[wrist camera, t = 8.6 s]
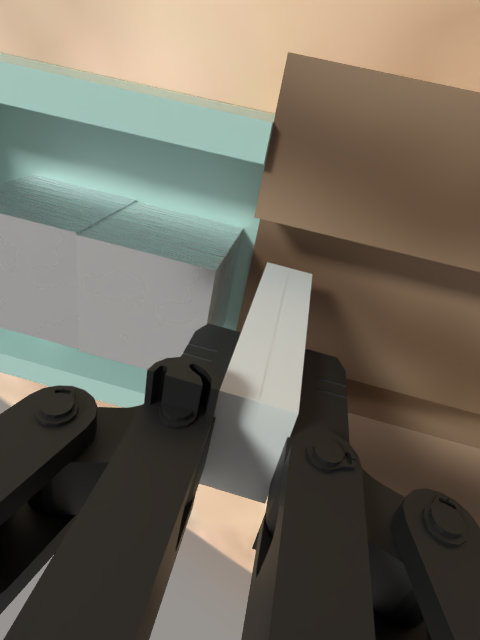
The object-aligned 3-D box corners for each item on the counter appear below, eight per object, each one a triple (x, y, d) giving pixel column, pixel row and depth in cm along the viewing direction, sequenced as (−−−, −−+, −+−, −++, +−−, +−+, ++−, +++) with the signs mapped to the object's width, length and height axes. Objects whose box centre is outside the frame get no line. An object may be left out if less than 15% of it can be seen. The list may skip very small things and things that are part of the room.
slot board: (296, 61, 12) (288, 52, 9) (795, 167, 11) (937, 189, 8) (222, 403, 19) (205, 451, 17) (519, 486, 18) (550, 551, 16)
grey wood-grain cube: (136, 201, 14) (76, 234, 11) (243, 228, 14) (215, 270, 11) (131, 297, 17) (79, 350, 13) (224, 322, 16) (196, 383, 13)
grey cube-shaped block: (33, 174, 15) (-57, 198, 11) (135, 199, 14) (76, 232, 11) (40, 272, 17) (-34, 318, 13) (131, 296, 16) (79, 349, 13)
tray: (-59, 39, 14) (-160, 25, 11) (285, 116, 13) (272, 122, 10) (-13, 313, 19) (-72, 351, 16) (227, 379, 18) (209, 431, 16)
